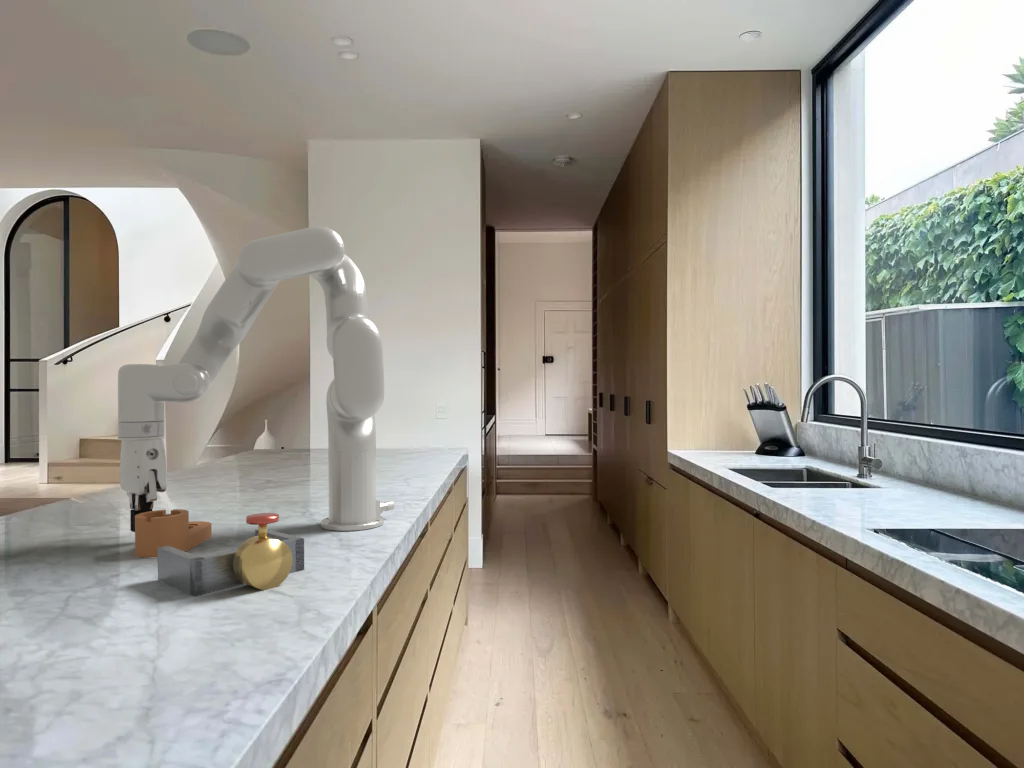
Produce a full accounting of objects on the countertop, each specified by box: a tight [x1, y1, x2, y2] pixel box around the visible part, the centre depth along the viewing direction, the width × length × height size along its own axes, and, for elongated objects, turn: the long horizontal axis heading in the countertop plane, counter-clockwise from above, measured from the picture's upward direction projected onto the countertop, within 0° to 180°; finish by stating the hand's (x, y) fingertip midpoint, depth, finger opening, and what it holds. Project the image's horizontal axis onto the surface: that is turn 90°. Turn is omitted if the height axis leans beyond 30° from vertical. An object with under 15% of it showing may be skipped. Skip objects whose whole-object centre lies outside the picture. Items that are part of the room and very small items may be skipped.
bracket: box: [134, 508, 213, 559], centre depth 123 cm, size 18×8×7 cm, turn 2°
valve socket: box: [157, 512, 305, 598], centre depth 101 cm, size 17×17×10 cm
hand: (141, 530), depth 124 cm, fingers closed
